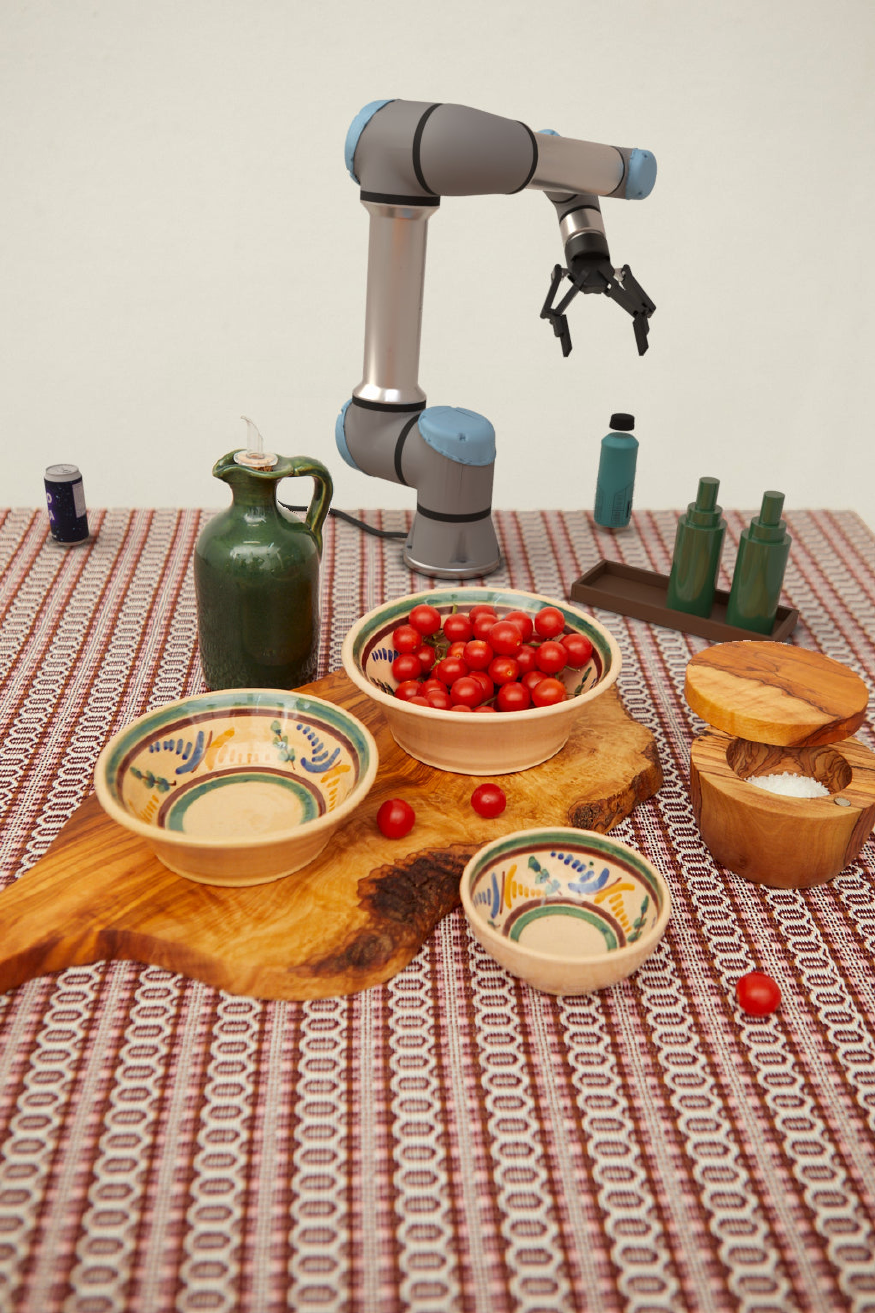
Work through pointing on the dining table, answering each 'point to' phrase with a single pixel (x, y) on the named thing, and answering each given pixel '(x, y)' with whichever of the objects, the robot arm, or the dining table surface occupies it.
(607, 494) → the beverage bottle
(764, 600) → the green bottle
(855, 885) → the dining table surface
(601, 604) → the tray
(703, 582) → the green bottle
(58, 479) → the beverage can
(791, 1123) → the dining table surface
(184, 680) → the dining table surface
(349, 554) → the dining table surface
